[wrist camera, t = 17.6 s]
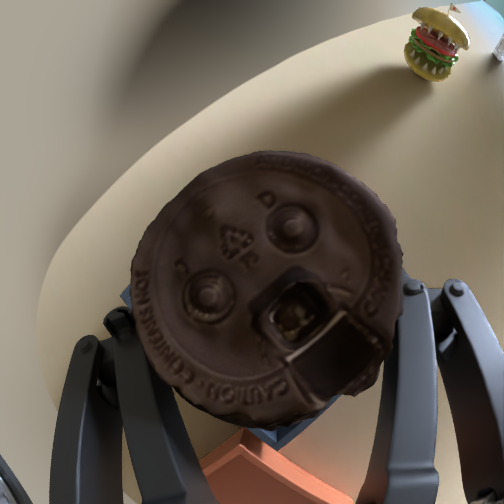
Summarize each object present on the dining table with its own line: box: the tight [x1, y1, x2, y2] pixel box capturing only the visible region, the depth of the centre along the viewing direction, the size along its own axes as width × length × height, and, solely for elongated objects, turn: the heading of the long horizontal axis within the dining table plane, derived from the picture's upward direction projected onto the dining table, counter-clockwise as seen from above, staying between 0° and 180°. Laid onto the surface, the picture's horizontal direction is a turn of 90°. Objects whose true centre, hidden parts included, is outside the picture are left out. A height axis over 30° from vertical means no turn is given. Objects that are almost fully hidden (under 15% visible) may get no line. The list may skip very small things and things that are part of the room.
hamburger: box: [404, 3, 469, 82], centre depth 18 cm, size 8×7×12 cm
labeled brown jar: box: [130, 151, 404, 432], centre depth 12 cm, size 9×8×13 cm
